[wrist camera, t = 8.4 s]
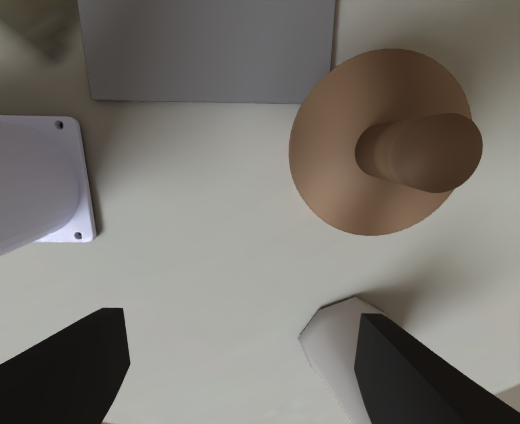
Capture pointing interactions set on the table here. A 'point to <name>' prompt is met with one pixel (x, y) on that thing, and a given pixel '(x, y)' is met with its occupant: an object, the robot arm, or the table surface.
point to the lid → (382, 142)
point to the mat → (206, 49)
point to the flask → (338, 353)
